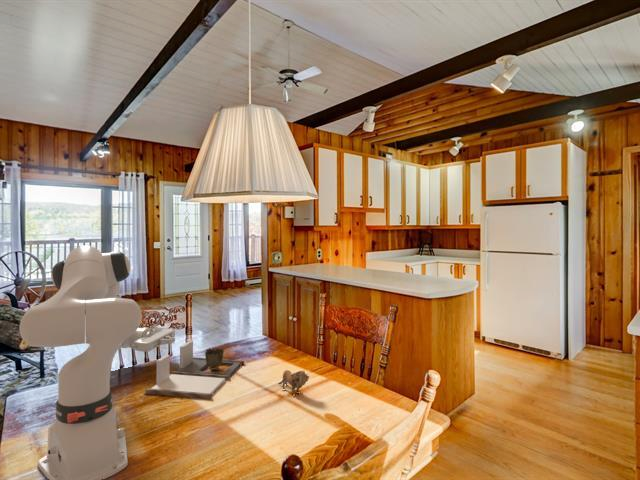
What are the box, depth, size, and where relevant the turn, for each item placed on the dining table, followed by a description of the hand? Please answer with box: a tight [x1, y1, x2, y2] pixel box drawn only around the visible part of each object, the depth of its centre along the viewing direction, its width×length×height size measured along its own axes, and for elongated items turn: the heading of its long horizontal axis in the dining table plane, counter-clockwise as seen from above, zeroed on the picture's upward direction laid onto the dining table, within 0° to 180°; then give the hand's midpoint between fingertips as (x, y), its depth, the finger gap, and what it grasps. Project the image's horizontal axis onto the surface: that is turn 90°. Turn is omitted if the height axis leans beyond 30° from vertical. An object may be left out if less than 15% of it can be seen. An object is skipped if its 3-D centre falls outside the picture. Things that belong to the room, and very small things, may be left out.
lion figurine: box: [277, 369, 310, 395], centre depth 128 cm, size 15×5×9 cm, turn 46°
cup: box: [204, 347, 225, 372], centre depth 147 cm, size 8×7×8 cm
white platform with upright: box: [150, 354, 226, 395], centre depth 130 cm, size 22×13×10 cm, turn 82°
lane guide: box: [144, 356, 245, 400], centre depth 139 cm, size 24×33×2 cm
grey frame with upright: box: [175, 340, 242, 376], centre depth 147 cm, size 22×13×10 cm, turn 82°
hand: (173, 340), depth 150 cm, fingers closed
